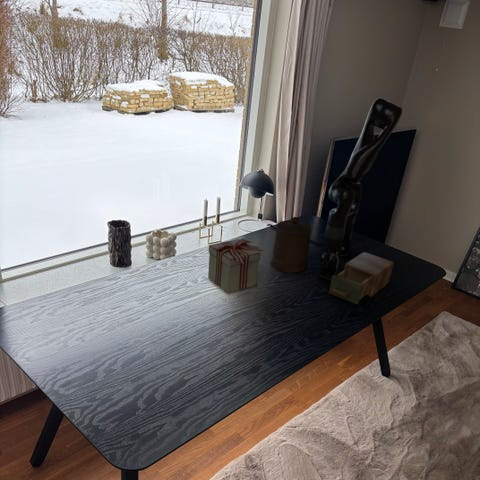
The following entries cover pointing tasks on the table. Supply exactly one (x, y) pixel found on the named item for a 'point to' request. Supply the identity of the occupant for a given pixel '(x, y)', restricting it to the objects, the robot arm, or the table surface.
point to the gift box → (233, 264)
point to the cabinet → (373, 269)
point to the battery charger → (331, 269)
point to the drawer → (351, 285)
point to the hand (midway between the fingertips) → (327, 272)
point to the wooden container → (291, 245)
